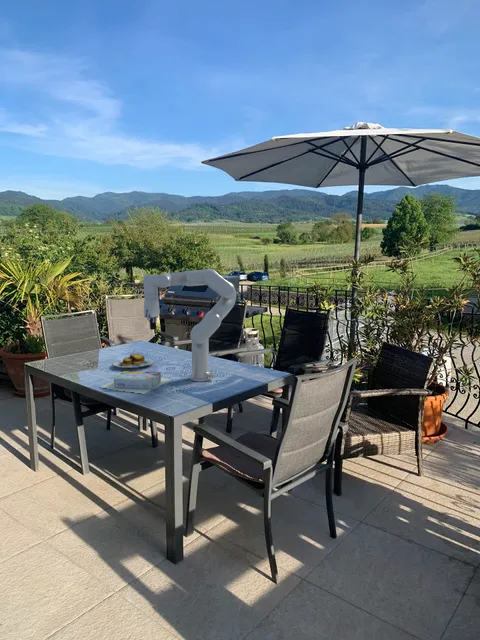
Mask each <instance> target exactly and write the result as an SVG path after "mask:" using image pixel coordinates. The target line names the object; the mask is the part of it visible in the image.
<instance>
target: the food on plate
mask: <svg viewBox="0 0 480 640" xmlns="http://www.w3.org/2000/svg"><path fill="white" fill-rule="evenodd" d="M154 363H155V362H154V361H153V360H149V359H145V356H144V355H143V354H141V353H133V354H129V357H125V358H123V359H122V360H121V361H116V362H113V363H112V365H111V366H114V367H117V368H118V369H121V368H122V369H129V368H130V369H135V368H136V369H137V368H140V367H148V366H151V365H154Z"/></svg>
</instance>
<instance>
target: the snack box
mask: <svg viewBox="0 0 480 640" xmlns="http://www.w3.org/2000/svg"><path fill="white" fill-rule="evenodd" d="M161 376H162V373H161V372H158V371H156V372H155V371H153V372H152V371H135V370H133V371H132V370H124V371H122V372H121V373H120V374H118V375H117V376H116V377H114V378H113V381H114V387H115V388H137V389H153V388H154V387H155V386H156V385H157V384H158V383H159V382H160V381H161V378H162V377H161Z"/></svg>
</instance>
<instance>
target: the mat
mask: <svg viewBox="0 0 480 640" xmlns="http://www.w3.org/2000/svg"><path fill="white" fill-rule="evenodd" d="M170 381H172V379H171V378H164V377H161V381H160V382H159V383H158V384H157V385H156V386H155V387H154V388H153V389H154V390H155V389H157V388H160V387H161V386H163V385H164V384H167V383H169V382H170ZM100 387H101V388H100V389H102V388H107V389H106V390H109V389H113V390H112V391H116V390H118V391H117V392H123V391H125V392H124V393H130V392H134V393H133V394H137V393H141V394H140V395H145V393H146V394H148V393H150V392H152V391H153V389H137V388H115V387H114V380H113V381H110V382H108V383H106V384H103V385H101V386H100ZM151 390H152V391H151ZM149 391H150V392H149ZM147 392H148V393H147Z"/></svg>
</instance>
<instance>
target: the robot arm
mask: <svg viewBox="0 0 480 640" xmlns="http://www.w3.org/2000/svg"><path fill="white" fill-rule="evenodd" d="M174 286H175V287H176V286H186V287H194V286H195V287H197V286H208V287H209V288H210V289H211V290H212V291H214V292H215V293H217V294H218V295H219V296H220V298H219V300H218V301H217V302H216V303H215V305H214V306H213V307H212V308H211V309H210V310H208V312H207V313H205V315H204V316H203V318H202V319H201V321H199V323H197V324H196V325H194V326H193V327H192V329H191V331H190V334H189V335H190V339H191V375H190V376H189V380H190V381H193V382H207V381H210V380H211V379H214V378H215V377H216V376H215V373H214V372H211V370H210V368H209V367H210V365H209V364H210V363H209V361H210V359H209V350H210V349H209V346H210V345H209V341H210V340H209V339H210V337H211V336H212V335H213V334H214V333H215V332H217V330H218V329H219V327H220V326H221V324H222V321H223V319H224V318H226V317H227V315H228V314H229V313H230V311H231V310H232V309H233V308H234V306H235V304H236V301H237V291H236V288H235V286H234V284H233V283H232V282H229V281H228V280H226V279H225V278H224V277H223V276H222V275H220V274H219V273H218V272H217V271H216V270H215V269H213V268H209V269H208V268H207V269H195V270H187V271H179V272H176V271H175V272H168V273H167V272H165V273H161V274H144V275H143V293H144V294H143V296H144V301H143V316H144V318H146V321H148V322H149V328H150V330H157V321H158V320H157V319H158V318H159V316H160V314H161V311H160V302H159V288H162V289H163V288H164V289H165V288H168V287H174Z"/></svg>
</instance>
